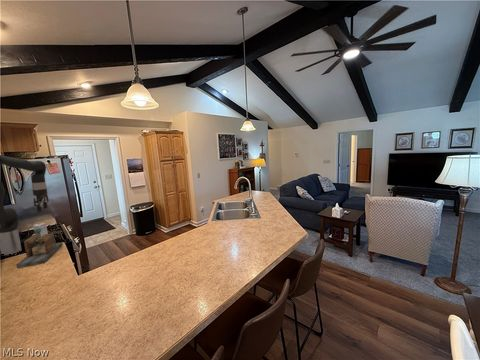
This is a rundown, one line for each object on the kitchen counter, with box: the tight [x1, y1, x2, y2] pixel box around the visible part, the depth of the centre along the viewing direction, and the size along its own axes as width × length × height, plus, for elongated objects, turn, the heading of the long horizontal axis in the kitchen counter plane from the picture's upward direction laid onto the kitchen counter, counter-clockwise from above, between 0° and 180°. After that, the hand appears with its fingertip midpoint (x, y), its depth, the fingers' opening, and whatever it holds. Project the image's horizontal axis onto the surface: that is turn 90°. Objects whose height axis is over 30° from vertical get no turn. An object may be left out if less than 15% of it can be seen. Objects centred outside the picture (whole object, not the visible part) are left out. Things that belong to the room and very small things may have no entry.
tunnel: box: [16, 232, 64, 269], centre depth 144 cm, size 14×28×14 cm, turn 22°
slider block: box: [32, 228, 46, 255], centre depth 143 cm, size 7×6×17 cm
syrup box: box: [32, 222, 49, 243], centre depth 170 cm, size 6×6×14 cm
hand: (42, 209), depth 149 cm, fingers open, 8 cm apart
